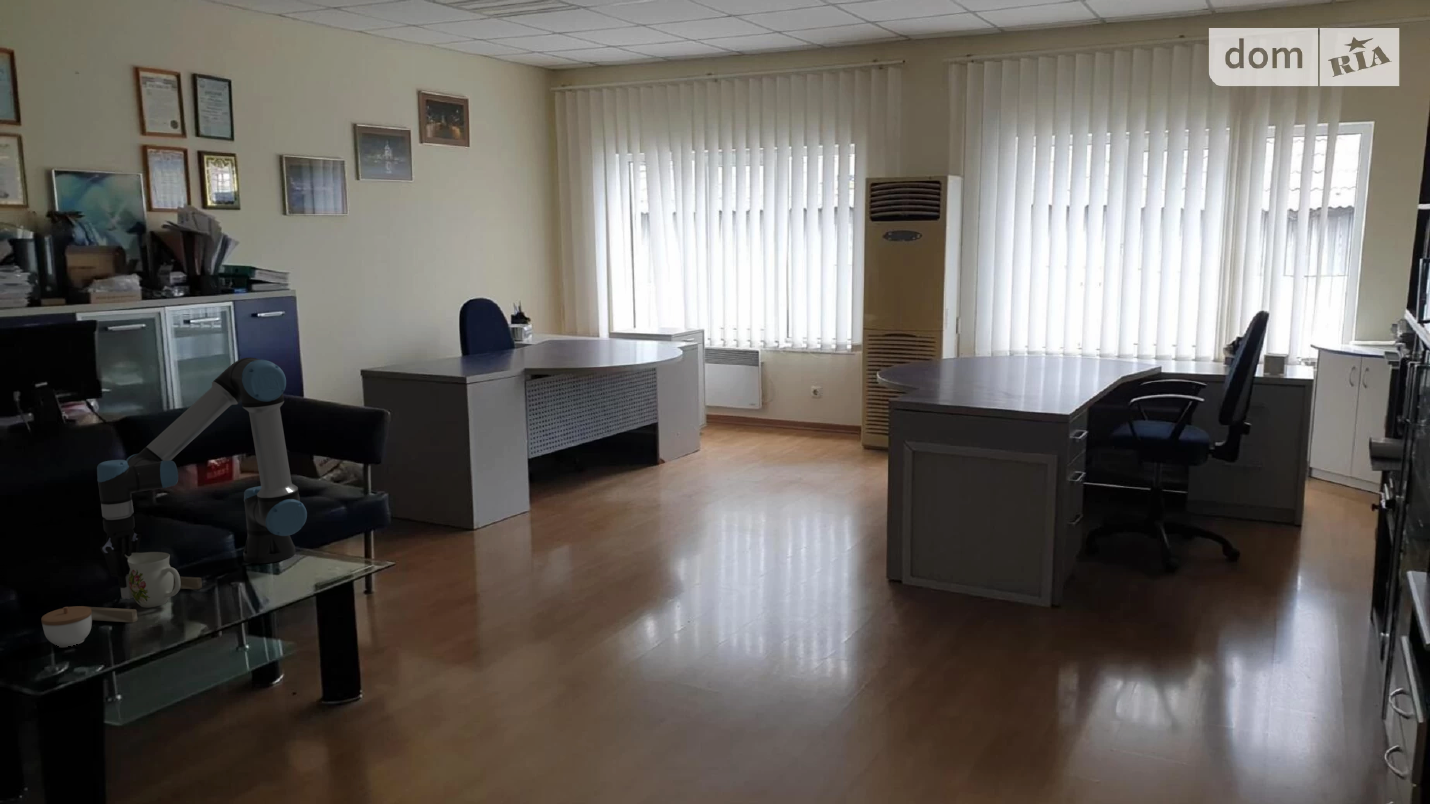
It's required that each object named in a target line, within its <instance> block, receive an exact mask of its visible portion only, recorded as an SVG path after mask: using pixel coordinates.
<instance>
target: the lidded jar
mask: <svg viewBox="0 0 1430 804" xmlns="http://www.w3.org/2000/svg"><path fill="white" fill-rule="evenodd" d="M89 607H90V606H86V605H85V606H84V605H81V606H80V605H79V606H78V605H77V606H76V605H75V606H64V607H62V608H58V609H55V610H52V611H50V612H47V613H46V614H44V615H42V617H41V620H40V621H41V625H42V629H43V633H44V636H45V638H46V639H47V640H48V641H49V642H50V643H51V644H53V645H55V646H56V645H57V646H59V647H58V648H69V647H68V646H71V647H74V646H73V645H75V646H77V645H76V644H78V645H79V644H82V643H84V642H85V640H86V638H87V637H88V635H89V634H90V633H91V629H92V624H93V620H92V616H91V613H92V611H91V608H89ZM57 646H56V647H57Z"/></svg>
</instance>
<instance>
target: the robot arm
mask: <svg viewBox="0 0 1430 804" xmlns="http://www.w3.org/2000/svg"><path fill="white" fill-rule="evenodd" d="M286 387H287V379H286V375H285V372H284V371H283V369H281V367H280V366H279V365H277V364H275V363H274V362H272V361H269V360H267V359H259V358H256V357H244V358H243V357H242V358H241V359H238V360H236V361H235V362H233V363H231V365H229V366H228V367H227V368H226V369H225V370H223V372H222V373H221V374H219V375H218V376H217V377H216V378H215V379H214V380H213V381H212V382H211V387H210V388H209V389H208V390H207V391H206V392H205V393H203V395H202V396H200V397H199V398H198V399H197V400H196V401H195V402H194V403H192V405H191V406H190V407H188V408H187V409H186V410H185V411H184V412H182V414H180V416H178V417H177V418H176V419H175V420H174V421H173V422H172V423H171V424H170V425H168V426H167V427H166V428H165V429H164V430H163V431H162V432H161V433H160V434H158V435H157V437H155V438H154V439H153V440H152V441H151V442H150V443H149V444H148V445H147V446H145V447H144V448H143V449H142V450H141V451H139V453H134V454H132V455H130V456H128V457H127V458H126V460H125V459H112V460H107V461H106V460H105V461H102V462H100V463H99V464H98V465H97V467H96V475H97V477H96V478H97V479H96V481H97V485H98V491H99V492H98V493H99V498H100V499H99V500H100V508H101V516H102V518H103V519H102V525H103V531H104V533H105V534H106V540H105V541H106V543H105V544H104V545H102V546H100V548H99V551H101V552H102V554H103V557H104V558H105V561H106V565H107V568H108V570H109V573H110V576H111V577H117V580H118V587H119V588H120V595H121V598H122V599H132V598H133V596H132V594H131V591H130V588H129V581H128V578H129V572H130V567H129V564H128V561H127V560H128V558H126V557H125V554H126V555H127V556H128V557H129V556H131V555H132V553H140V546H141V545H140V544H141V540H142V534H140V533H138V534H137V533H135V531H134V528H135V527H136V523H135V515H133V514H134V506H133V505H134V503H133V498H132V494H133V493H138V492H144V491H153V490H158V489H166V488H169V487H173V486H176V485H177V484H178V481H179V472H178V471H179V470H178V468H177V464H176V462H175V461H173V460H174V458H176V456H177V455H178V454H179V453H181V451H183V450H184V449H185V448H186V447H187V446H188V445H189V444H190V443H191V442H193V440H195V439H196V438H197V437H198V436H199V435H200V434H201V433H202V432H203V431H204V430H206V429H207V428H208V427H209V426H210V425H211V424H213V422H215V420H216V419H217V418H219V417H220V416H221V415H222V414H223V413H224V412H225V411H226V410H227V409H228V408H230V407H231V406H232V405H234V406H235V405H238V404H239V403H240V402H241V407H242V408H243V409H244V410H245V411H247V412H248V415H249V420H250V421H249V422H250V426H251V433H252V434H251V435H252V438H253V445H254V450H255V451H254V452H255V457H256V464H257V470H258V474H259V481H260V482H259V483H260V485H259V486H254V487H249V488H247V489H245V490H244V492H243V502H244V510H245V511H244V513H245V521H246V532H247V537H246V541H245V546H244V549H243V552H242V553H243V561H245V562H246V563H249V564H269V563H270V564H271V563H275V562H276V563H277V562H280V561H283V560H287V559H290V558H292V557H293V556H295V555H296V546H295V544H294V542H293V540H292V537H291V535H294V534H296V533H297V532H299V531H300V530H301V529H302V528H303V526H305V524H306V522H307V517H308V512H307V509H306V507H305V505H304V503H303V502H301V500H300V494H299V493H300V492H299V487H298V486H297V485H295V484H294V483H292V478H291V477H292V476H291V471H290V464H289V457H288V451H287V446H286V445H287V444H286V439H285V438H286V437H285V433H284V426H283V419H282V413H281V407H282V406H283V404H284V403H285V398H284V392H285V390H286Z"/></svg>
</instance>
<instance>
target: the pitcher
mask: <svg viewBox="0 0 1430 804" xmlns="http://www.w3.org/2000/svg"><path fill="white" fill-rule="evenodd" d="M170 556H171V555H170V554H169V553H168V552H162V551H148V552H147V551H146V552H139V553H132V555H131V556H129V557H128V556H127V555H126V554H125V557H126V558H128V560H127V561H128V564H129V567H130V572H129V578H128V581H129V588H130V591H131V594H132V596H133V597H132V598H133V599H134V601H135V602H136V603H137V604H138V605H139V606H140V607H141V608H155V607H161V606H162V605H165V604H167V602H168V601H169V599H170V598H173V597H174V596H176V595H177V594H178V593H179V592H180V590H181V588H180V586H181V581H180V577H181V576H180V574H179V572H178V570H177V569H176V568H174V567H172V566H171V565H170ZM173 576H174V577H173ZM174 578H175V588H173V584H174Z"/></svg>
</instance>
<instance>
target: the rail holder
mask: <svg viewBox="0 0 1430 804" xmlns="http://www.w3.org/2000/svg"><path fill="white" fill-rule="evenodd" d="M173 577H174V576H173ZM202 580H203V579H202V577H194V576H180V581H181V586H180V590H182V589H183V590H185V589H187V590H200V589H202V588H203V583H202ZM174 588H175V578H174V584H173V589H174ZM88 607H89V608H91V611H92V613H91V616H92V621H100V622H101V621H102V622H103V621H104V622H116V623H117V622H118V623H119V622H120V623H135V622H137V621H138V613H137V612H138V611H137V609H134V608H133V609H132V608H118V607H117V608H115V607H114V608H113V607H98V606H97V607H96V606H88Z"/></svg>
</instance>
